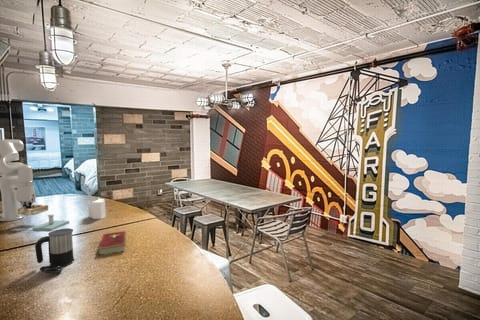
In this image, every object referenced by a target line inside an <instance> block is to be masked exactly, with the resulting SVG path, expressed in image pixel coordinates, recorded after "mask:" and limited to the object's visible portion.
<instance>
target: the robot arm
mask: <svg viewBox="0 0 480 320" xmlns="http://www.w3.org/2000/svg"><path fill="white" fill-rule="evenodd" d="M24 147H25V145H24V143H23V141H22V140H20V139H8V138H7V139H0V195H1V207H2V212H1V213H0V221H1V222H12V221H19V220H21V219H23V218H24V217H25V215H22V214H18V209H19V208H23V207H26V209H31V205H33V204H34V203H36V195H37V194H36V189H35V185H34V179H33V178H34V176H33V175H34V173H33V167H32V165H28V164H25V163H23V162H20V161H19V162H14V161H16V160H17V159H18V158H19V156H20V154H19V152H21V151H23V150H24ZM21 206H22V207H21Z"/></svg>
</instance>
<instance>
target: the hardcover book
mask: <svg viewBox="0 0 480 320" xmlns="http://www.w3.org/2000/svg"><path fill="white" fill-rule="evenodd" d="M126 240H127V230H123V231H117V232H116V231H115V232H109V233H107V232H106V233H103V234H102V238H101V240H100V243H99V247H98V249H97V253H98V256H99V254H104V255H106V254H105V253H110V254H114V253H113V252H117V253H122V252H121V251H123V252H125V251H126V250H125V249H126Z"/></svg>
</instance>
